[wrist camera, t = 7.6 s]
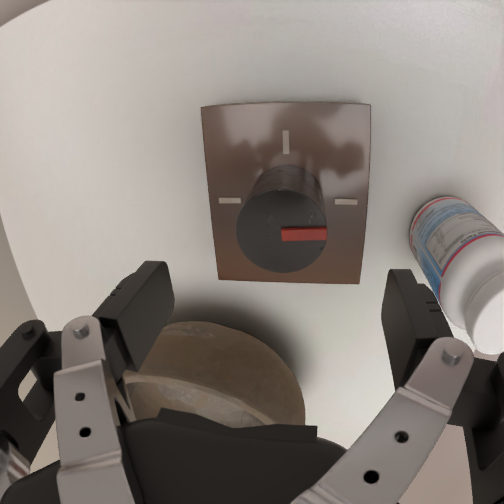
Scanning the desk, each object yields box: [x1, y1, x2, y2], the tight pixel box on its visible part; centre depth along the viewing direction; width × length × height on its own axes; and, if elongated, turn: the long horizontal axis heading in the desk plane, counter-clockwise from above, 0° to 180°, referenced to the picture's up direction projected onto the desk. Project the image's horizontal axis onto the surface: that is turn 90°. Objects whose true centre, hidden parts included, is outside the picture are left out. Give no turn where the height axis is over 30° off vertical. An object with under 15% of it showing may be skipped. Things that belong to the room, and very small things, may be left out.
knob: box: [236, 165, 328, 273], centre depth 17 cm, size 4×4×5 cm
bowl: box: [123, 321, 305, 428], centre depth 27 cm, size 17×18×10 cm
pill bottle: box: [410, 196, 504, 354], centre depth 17 cm, size 6×6×11 cm
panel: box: [201, 101, 371, 284], centre depth 21 cm, size 12×10×3 cm
